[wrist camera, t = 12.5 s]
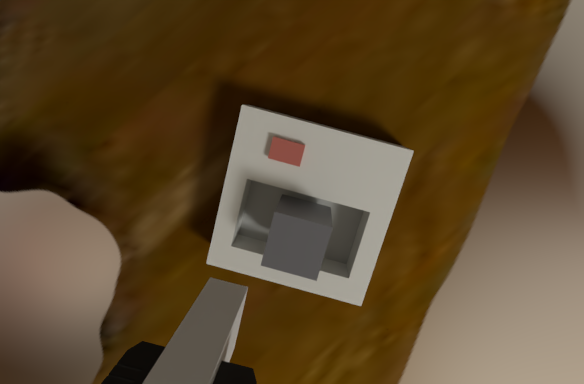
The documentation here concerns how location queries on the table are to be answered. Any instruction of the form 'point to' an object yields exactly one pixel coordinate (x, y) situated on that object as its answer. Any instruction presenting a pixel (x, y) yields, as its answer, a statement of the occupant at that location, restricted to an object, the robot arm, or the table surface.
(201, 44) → the table surface
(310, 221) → the plug
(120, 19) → the table surface
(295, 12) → the table surface
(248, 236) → the socket plate
